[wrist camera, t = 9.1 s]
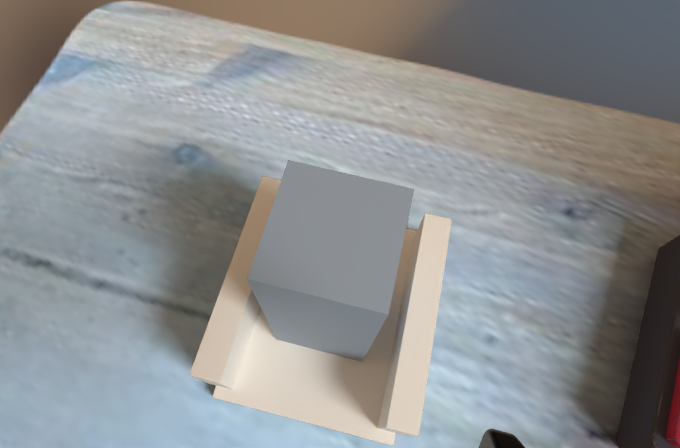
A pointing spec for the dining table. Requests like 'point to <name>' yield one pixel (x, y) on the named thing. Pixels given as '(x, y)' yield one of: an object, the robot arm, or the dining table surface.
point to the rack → (320, 367)
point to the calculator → (656, 362)
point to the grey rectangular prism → (330, 258)
